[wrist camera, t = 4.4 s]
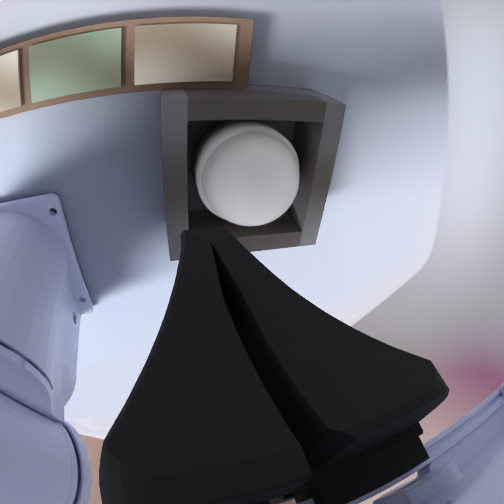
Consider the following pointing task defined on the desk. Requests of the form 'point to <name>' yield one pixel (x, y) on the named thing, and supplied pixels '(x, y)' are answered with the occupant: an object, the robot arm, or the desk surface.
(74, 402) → the desk surface
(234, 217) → the dome button
